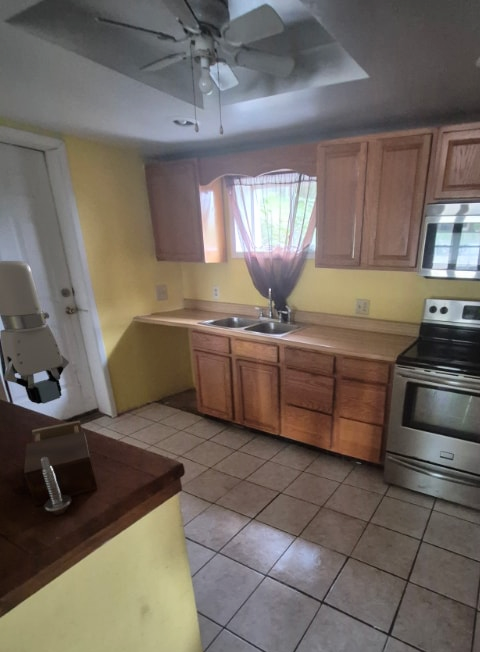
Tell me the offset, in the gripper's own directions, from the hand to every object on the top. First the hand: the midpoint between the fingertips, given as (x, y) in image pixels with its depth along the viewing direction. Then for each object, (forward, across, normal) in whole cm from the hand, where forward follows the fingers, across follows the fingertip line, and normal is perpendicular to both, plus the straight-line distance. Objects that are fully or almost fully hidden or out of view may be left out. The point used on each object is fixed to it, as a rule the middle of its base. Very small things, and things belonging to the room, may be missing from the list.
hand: (46, 398), depth 88 cm
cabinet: (+17, +6, +10) cm, 20 cm away
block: (0, 0, 0) cm, 0 cm away
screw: (+17, +13, +18) cm, 28 cm away
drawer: (+16, 0, -1) cm, 16 cm away
